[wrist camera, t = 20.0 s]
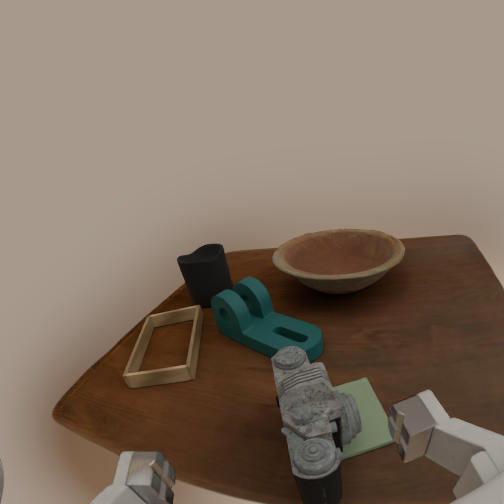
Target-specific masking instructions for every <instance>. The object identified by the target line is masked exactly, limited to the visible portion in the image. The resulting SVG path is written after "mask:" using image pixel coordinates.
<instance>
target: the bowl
mask: <svg viewBox="0 0 504 504" xmlns="http://www.w3.org/2000/svg"><path fill="white" fill-rule="evenodd" d="M404 253H405V247H404V245H403V243H402V242H401V241H400V240H398V239H396V238H395V237H393V236H391V235H388V234H385V233H384V232H381V231H374V230H360V229H337V230H327V231H321V232H315V233H307V234H304V235H302V236H299V237H297V238H294V239H292V240H290V241H288V242H286V243H284V244H283V245H281V246H280V247H279V248H278V249H277V250H276V251H275V252H274V254H273V257H272V260H273V263H274V265H275V266H276V267H277V268H278V269H279V270H281V271H282V272H284V273H286V274H288V275H290V276H292V277H295V278H297V279H298V280H299V281H300V282H301V283H302V284H304V285H305V286H307V287H310V288H313V289H315V290H318V291H321V292H324V293H329V294H350V293H353V292H356V291H359V290H361V289H363V288H365V287H367V286H369V285H371V284H373V283H375V282H376V281H378V280H379V279H381V278H382V277H383V276H384V275H385V274H386V273H387V272H388V270H389V269H391V268H392V267H394V266H395V265H397V264H398V263H399V262H400V261H401V260H402V259H403V257H404Z"/></svg>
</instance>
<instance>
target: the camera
mask: <svg viewBox="0 0 504 504" xmlns="http://www.w3.org/2000/svg"><path fill="white" fill-rule="evenodd" d="M271 361H272V366H273V372H274V377H275V382H276V388H277V393H278V396H276V400H277V404H278V407H280V410H281V415H282V420H283V424H284V428H282V429H281V432H282V434H284V435H285V436H286V441H287V447H288V452H289V458H290V462H291V466H292V471H293V475H294V476H295V480H296V483H297V486H298V489H299V492H300V495H301V498H302V501H303V504H340V502H341V501H342V483H341V468H340V461H342V454H341V452H343V445H347V444H350V443H351V440H352V438H355V437H356V434H358V433H360V432H361V430H362V425H361V418H360V414H359V410H358V407H357V404H356V401H355V399H354V397H353V395H352V394H347V395H346V394H345V393H344V392H343V393H339V392H338V390H335V391H334V390H333V387H332V385H331V382H330V380H329V377H328V374H327V372H326V369H325V366H324V364H323V363H319V362H315V363H313V364H310V363H309V360H308V357H307V355H306V352H305V350H302V349H301V348H299V347H296V346H288V347H284V348H282V349H280V350H279V351H278V352H277V353H276V355H274V356H273V357H272V358H271Z"/></svg>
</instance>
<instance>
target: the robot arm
mask: <svg viewBox="0 0 504 504" xmlns="http://www.w3.org/2000/svg"><path fill="white" fill-rule="evenodd" d="M389 412H390V414H391V416H390V417H389V419H388V427H389V432H390V435H391V437H392V440H393V441H394V442H396V443H398V452H399V454H400V456H401V459H402V461H403V463H406V462H409V461H411V460H414V459H416V458H419V457H421V456H424V455H425V456H426V457H428V458H429V459H431V460H433V461H434V462H436V463H438V464H439V465H441V466H443V467H445V468H446V469H448V470H450V471H452V472H453V473H455V474H457V475H459V476H460V478H459V480H458V482H457V483H456V485H455V487H454V489H453V492H454V494H455V496H456V498H457V500H455V501H453V502H451V503H449V504H504V436H502V435H500V434H497V433H494V432H491V431H489V430H486V429H483V428H480V427H478V426H475V425H472V424H470V423H467V422H465V421H462V420H459V419H457V418H451V419H450V417H449V416H448V414H447V413H446V411H445V410H444V409H443V407H442V406H441V404H440V403H439V401H438V400H437V399H436V397H435V396H434V394H433V393H432V391H430V390H426V391H424V392H421V393H419V394H417V395H413V396H411V397H408V398H406V399H403V400H401V401H398V402H396V403H393V404H391V405H390V408H389ZM164 459H165V456H164V454H163V453H162V452H161V451H145V452H136V451H123V452H122V453H121V455H120V458H119V462H118V465H117V469H116V473H115V477H114V480H113V484H112V485H108V486H107V487H106V488H105V489H104V490H103V491H102V492H101V493H100V494H99V495H97V496H96V497H95V498H94V499H93V500H92V501H91V502H90V503H89V504H173V497H174V493H173V492H172V490H171V488H172V486H174V484H175V471H174V468H173V466H172V465H171V463H170V462H168V461H166V460H164Z"/></svg>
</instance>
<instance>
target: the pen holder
mask: <svg viewBox="0 0 504 504" xmlns="http://www.w3.org/2000/svg"><path fill="white" fill-rule="evenodd" d="M177 262H178V264H179V267H180V270H181V272H182V275H183V277H184V280H185V283H186V285H187V288H188V290H189V293H190V295H191V298H192V300H193V302H194V304H195V305H200V307H211V300H212V298H213V297H214V296H215V295H217V294H219V293H221V292H222V291H224V290H226V289H229V290H233V286H232V282H231V277H230V273H229V269H228V265H227V261H226V257H225V253H224V248H223V246H222V245H221V244H207V245H204V246H202V247H200V248H198V249H197V250H196V251H194V252H193V253H191V254H189V255H184V256H179V257H178V259H177Z"/></svg>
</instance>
